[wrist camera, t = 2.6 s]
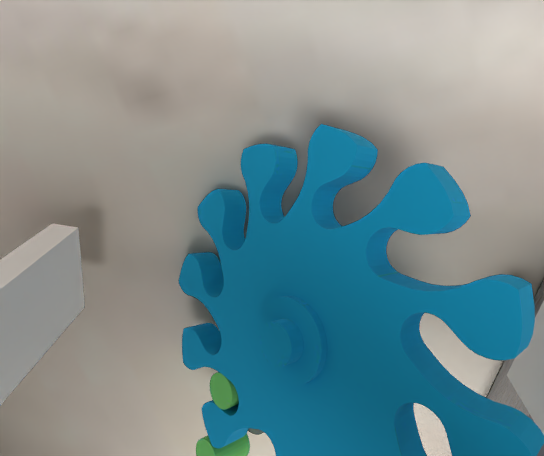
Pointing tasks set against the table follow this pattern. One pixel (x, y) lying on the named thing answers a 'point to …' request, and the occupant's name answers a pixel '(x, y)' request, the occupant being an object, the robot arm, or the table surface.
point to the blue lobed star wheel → (342, 315)
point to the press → (502, 385)
